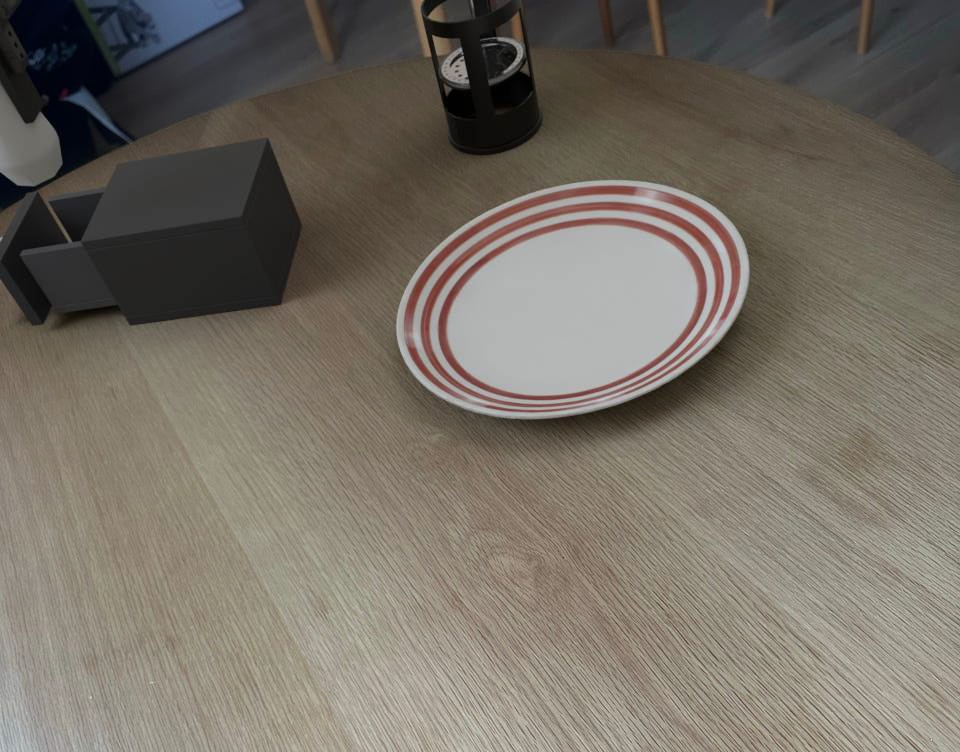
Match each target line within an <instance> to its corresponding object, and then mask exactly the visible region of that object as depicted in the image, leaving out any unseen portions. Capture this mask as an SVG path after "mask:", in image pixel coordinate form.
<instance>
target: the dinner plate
mask: <svg viewBox="0 0 960 752" xmlns="http://www.w3.org/2000/svg"><path fill="white" fill-rule="evenodd" d="M750 269H751V267H750V259H749V255H748V249H747V247H746V244H745V242H744V240H743V237H742V235H741V234H740V232H739V230H738V229H737V227H736V226H735V225H734V223H733V222H732V221H731V220H730V219H729V218H728V217H727V216H726V215H725V214H724V213H723V212H722V211H721V210H719V209H718V208H717V207H715V206H714V205H712V204H711V203H709V202H708V201H706V200H704V199H702V198H700V197H698V196H697V195H693V194H692V193H689V192H686V191H683V190H681V189H678V188H675V187H672V186H669V185H665V184H660V183H654V182H650V181H649V182H648V181H641V180H627V179H601V180H589V181H580V182H572V183H567V184H561V185H557V186H551V187H549V188H544V189H539V190H537V191H534V192H531V193H528V194H525V195H522V196H519V197H516V198H513V199H511V200H510V201H507V202H504V203H502V204H500V205H498V206H496V207H494V208H491V209H489V210H487V211H485V212H484V213H482V214H480V215H479V216H476V217H475V218H473V219H472V220H470V221H468V222H467V223H465V224H463V226H461V227H460V228H457V230H455V231H454V232H453V233H452V234H450V235H449V236H447V237H446V238H445V239H444V240H443V241H442V242H441V243H439V244H438V246H436V247H435V248H434V249H433V250H432V251H431V252H430V254H429V255H427V256H426V258H425V259H424V260H423V261H422V262H421V264H420V265H419V267H418V268H417V269H416V271H415V272H414V274H413V275H412V277H411V278H410V280H409V282H408V283H407V286H406V288H405V290H404V292H403V294H402V297H401V300H400V302H399V306H398V310H397V314H396V322H395V323H396V325H395V326H396V327H395V329H396V339H397V344H398V348H399V351H400V354H401V356H402V359H403V360H404V363H405V365H406V366H407V368H408V369H409V371H410V373H411V374H412V375H413V376H414V377H415V378H416V380H418V382H419V383H420V384H421V385H422V386H424V387H425V388H426V389H427V390H429V391H430V392H431V393H433V394H434V395H436V396H437V397H438V398H440V399H442V400H444V401H446V402H448V403H449V404H452V405H454V406H456V407H458V408H461V409H462V410H466V411H469V412H473V413H476V414H479V415H484V416H489V417H494V418H502V419H503V418H504V419H510V420H516V419H518V420H545V419H547V420H548V419H557V418H558V419H559V418H567V417H572V416H578V415H583V414H588V413H592V412H596V411H597V412H598V411H600V410H605V409H607V408H611V407H614V406H615V407H616V406H618V405H620V404H624V403H626V402H629V401H632V400H634V399H636V398H639V397H641V396H642V395H646V394H648V393H650V392H653V391H655V390H657V389H658V388H660V387H661V386H663V385H665V384H667V383H669V382H671V381H672V380H674V379H676V378H677V377H679V376H680V375H682V374H683V373H684V372H686V371H688V370H689V369H690V368H692V367H693V366H695V365H696V364H697V363H698V362H699V361H701V360H702V359H703V358H705V356H706V355H708V354H709V353H710V352H711V351H712V350H713V349H714V348H715V347H716V346H717V345H718V344H719V343H720V342H721V341H722V339H723V338H724V337H725V336H726V335H727V333H728V331H729V330H730V329H731V327H732V326H733V325H734V323H735V321H736V319H737V318H738V316H739V314H740V312H741V310H742V308H743V305H744V303H745V300H746V297H747V294H748V290H749V285H750V275H751V274H750V273H751V272H750V271H751V270H750Z"/></svg>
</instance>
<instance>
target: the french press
mask: <svg viewBox="0 0 960 752" xmlns="http://www.w3.org/2000/svg"><path fill="white" fill-rule="evenodd" d="M447 1H448V0H422V2H421V5H420V14H421V18H422V22H423V28H424V31H425V35H426V40H427V44H428V48H429V52H430V56H431V61H432V65H433V69H434V72H435V79H436V82H437V86H438V90H439V94H440V98H441V103H442V107H443V112H444V115H445V119H446V124H447V128H448V129H447V137H448V140H449V143H450V145H451V146H452V147H453V148H454V149H455V150H457V151H459V152H461V153H464V154H467V155H476V156H477V155H481V156H482V155H492V154H498V153H502V152H504V151H508V150H511V149H513V148H516V147H517V146H520V145H522V144H523V143H525V142H527V141H528V140H529V139H530V138H532V137H533V136H534V135H535V134H536V133H537V132H538V131H539V130H540V128H541V126H542V123H543V117H544V116H543V110H542V108H541V106H540V105H539V100H538V94H537V88H536V87H537V86H536V81H535V76H534V70H533V63H532V57H531V50H530V45H529V38H528V33H527V26H526V20H525V14H524V6H523V1H522V0H508V1H507V2H506V3H504V4H503V5H502V6H500V7H498V8H496V9H494V10H493V7H492V3H491V0H467V3H468V8H469V12H470V16H471V17H470V19H465V20H460V21H439V20H435V19H432V18H430V15H431V13H432V12H433V11H435V9H437V8H438V7H439V6H440V5H442V4H443V3H445V2H447ZM517 13H518V14H519V19H520V25H521V33H522V37H523V38H522V39H523V42H522V41H520V40H517V39H515V38H511V37H504V36H499V37H498V35H497V30H496V29H497V28H499V27H501V26H502V25H505V24H507V22H509V21H510V20H512V19H513V18H514V17H515V16H516V15H517ZM433 36H434V37H436V38H439V39H449V40H453V39H456V40H457V39H459V42H460V47H458V48H456V49H454V50H453V51H451V52H450V53H448V55H446V56H445V57H444V58H443V59H442V61H441V62H440V63H439V59H438V54H437V50H436V46H435V42H434V37H433ZM526 63H527V68H528V72H526V71H524V70H522V69H523V68H524V66H525V65H526ZM445 86H446V87H448V88H450V90H449V91H448V92H446V89H445ZM498 106H515V107H513V108H512V109H509V110H506V111H505V112H502V113H500V114H497V115H496V113H495V107H498ZM473 115H475V117H476V118H471V117H472V116H473Z"/></svg>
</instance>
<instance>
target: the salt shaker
mask: <svg viewBox="0 0 960 752" xmlns="http://www.w3.org/2000/svg"><path fill="white" fill-rule="evenodd" d="M63 163H64V162H63V158H62V150H61V145H60V138H59V136H58V133H57V131H56V130H55V128H54V126H53V125H52V124H51V123H50V121H49V120H48V119H47V118H46V117H45V115H44V113H42V111H40V112H39V114H38V116H37V118H36V119H35V121H34V123H28V124H25V122H24V121H23V119H22V118H21V116H20V114H19V112H18V111H17V109H16V107H15V106H14V104H13V102H12V100H11V99H10V97H9V95H8V94H7V92H6V90H5V88H4V87H3V85H2V83H1V81H0V173H1V174H2V175H3V176H5V177H6V178H7V179H9V181H11V182H12V183H14V184H15V185H16V186H21V187H36V186H38V185H40V184H42V183H44V182H46V181H49V180H50V179H52V178H54V177H55V176H56V175H57V173H58V171H59V170H60V168H61V167H62V166H63Z"/></svg>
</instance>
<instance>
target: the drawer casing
mask: <svg viewBox="0 0 960 752" xmlns="http://www.w3.org/2000/svg"><path fill="white" fill-rule="evenodd" d="M105 187H106V189H105V191H104V193H103V195H102V197H101V199H100V201H99V204H98V206H97V208H96V210H95V212H94V214H93V216H92V218H91V220H90V223H89V225H88V227H87V229H86V231H85V233H84V235H83V237H82V240H81V244H82V245H83V247H84V249H85V250H86V252H87V254H88V255H89V257H90V259H91V260H92V262H93V264H94V266H95V267H96V269H97V271H98V272H99V274H100V276H101V277H102V279H103V281H104V282H105V284H106V286H107V287H108V289H109V291H110V292H111V294H112V296H113V297H114V299H115V301H116V303H117V304H118V305H117V307H118V308H119V309H120V311H121V312H122V314H123V316H124V318H125V320H126V322H127V323H128V324H129V326H133V325H142V324H149V323H155V322H164V321H171V320H177V319H184V318H192V317H199V316H206V315H214V314H221V313H229V312H234V311H243V310H249V309H257V308H263V307H264V308H265V307H270V306H278V305H281V304H282V300H283V297H284V293H285V290H286V289H285V288H286V286H287V282H288V278H289V275H290V270H291V268H292V264H293V260H294V257H295V252H296V250H297V245H298V241H299V238H300V234H301V230H302V227H303V224H302V220H301V218H300V216H299V214H298V210H297V208H296V206H295V203H294V201H293V198H292V195H291V193H290V190H289V188H288V185H287V182H286V180H285V177H284V175H283V173H282V170H281V168H280V165H279V162H278V160H277V157H276V154H275V152H274V149H273V147H272V145H271V141H270V140H269V137H261V138H256V139H251V140H244V141H240V142H239V141H238V142H233V143H227V144H223V145H216V146H211V147H205V148H199V149H194V150H187V151H182V152H176V153H171V154H165V155H159V156H153V157H148V158H143V159H137V160H131V161H126V162H125V161H124V162H119V163H117V164H116V165H115V167H114V170H113V172H112V174H111V176H110V178H109V180H108V182H107V184H106V186H105Z"/></svg>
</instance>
